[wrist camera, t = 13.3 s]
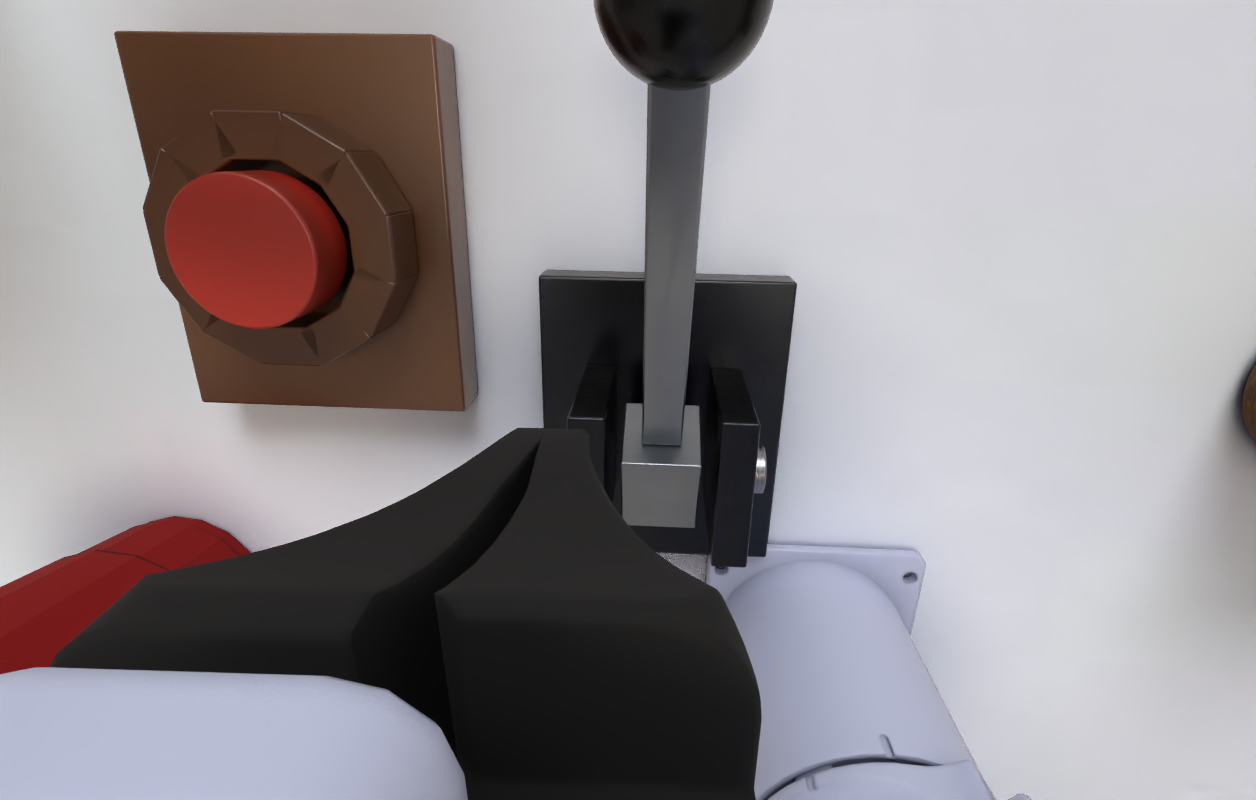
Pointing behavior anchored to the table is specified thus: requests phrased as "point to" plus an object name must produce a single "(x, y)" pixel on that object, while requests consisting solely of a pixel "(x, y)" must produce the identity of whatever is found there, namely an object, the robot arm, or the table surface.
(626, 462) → the lever
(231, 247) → the button
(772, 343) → the bracket
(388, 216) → the button block
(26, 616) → the plastic cup
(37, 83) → the table surface
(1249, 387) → the utensil holder
